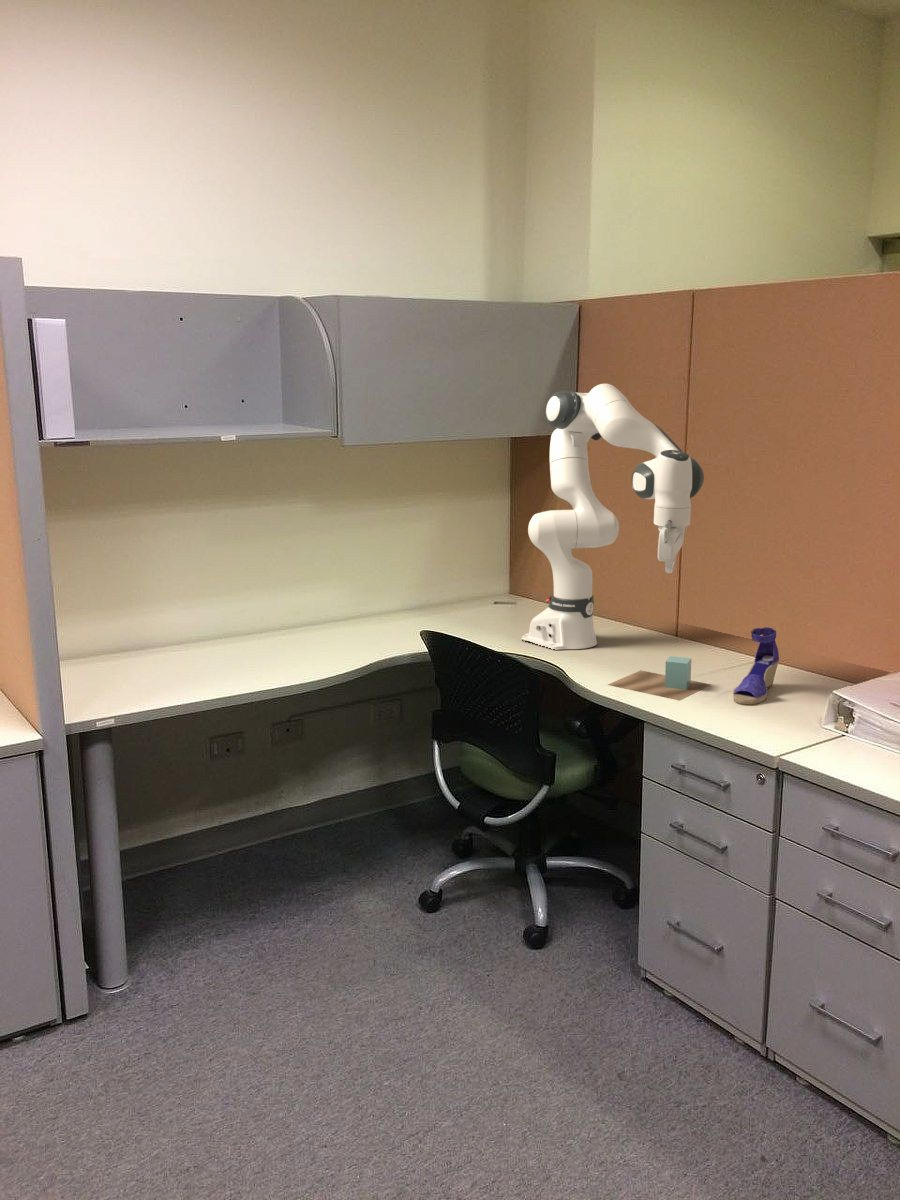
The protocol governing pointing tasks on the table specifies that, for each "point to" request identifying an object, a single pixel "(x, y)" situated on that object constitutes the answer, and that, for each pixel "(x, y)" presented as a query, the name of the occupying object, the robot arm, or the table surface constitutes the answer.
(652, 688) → the board
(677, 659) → the teal rectangular block
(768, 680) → the sandal
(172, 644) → the table surface
